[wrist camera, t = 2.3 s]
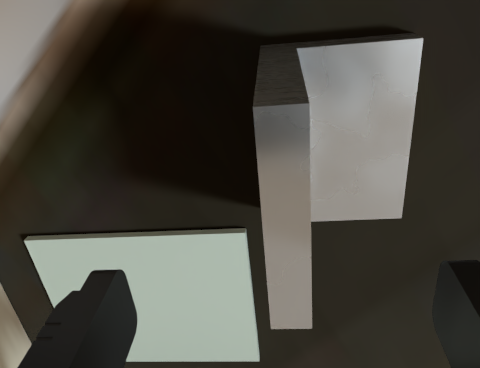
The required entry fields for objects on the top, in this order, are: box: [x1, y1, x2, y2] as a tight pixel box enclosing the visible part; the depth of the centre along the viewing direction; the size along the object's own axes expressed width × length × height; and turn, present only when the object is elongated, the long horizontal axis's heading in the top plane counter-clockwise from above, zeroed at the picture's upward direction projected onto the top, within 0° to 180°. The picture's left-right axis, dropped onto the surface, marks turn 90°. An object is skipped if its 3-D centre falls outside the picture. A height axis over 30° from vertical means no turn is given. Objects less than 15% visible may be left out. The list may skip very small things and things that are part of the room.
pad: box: [24, 228, 260, 362], centre depth 24 cm, size 10×12×1 cm
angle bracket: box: [253, 33, 423, 329], centre depth 15 cm, size 8×6×8 cm
